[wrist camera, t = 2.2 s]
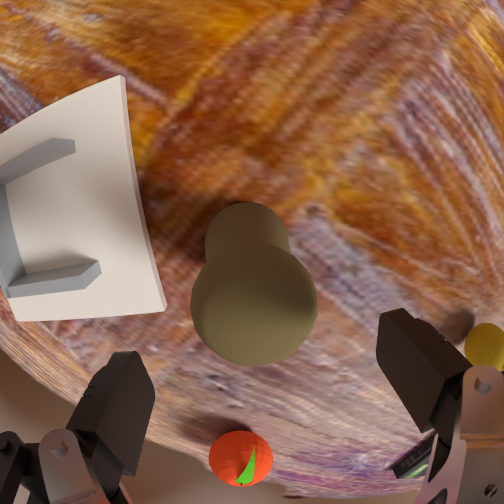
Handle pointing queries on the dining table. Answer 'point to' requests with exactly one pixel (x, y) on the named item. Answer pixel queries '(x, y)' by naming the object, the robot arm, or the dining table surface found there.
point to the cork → (252, 289)
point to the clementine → (240, 458)
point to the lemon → (485, 346)
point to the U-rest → (75, 212)
